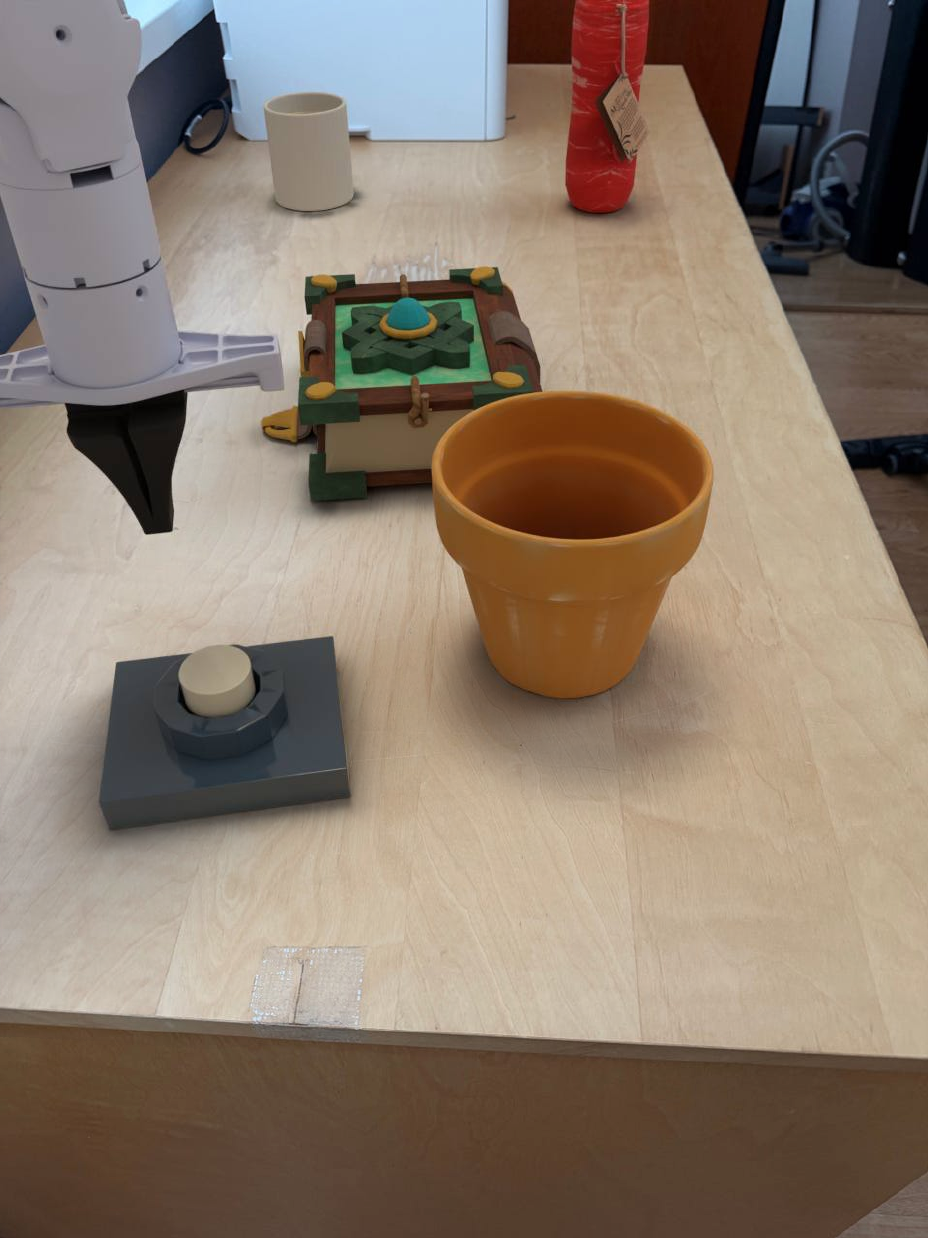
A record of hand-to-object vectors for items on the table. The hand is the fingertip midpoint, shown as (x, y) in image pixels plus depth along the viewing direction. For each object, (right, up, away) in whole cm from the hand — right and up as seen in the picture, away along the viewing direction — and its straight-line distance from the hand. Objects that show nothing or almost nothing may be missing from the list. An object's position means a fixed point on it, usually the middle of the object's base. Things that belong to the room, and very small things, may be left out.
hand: (159, 522), depth 53 cm
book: (+10, +12, +30) cm, 33 cm away
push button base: (+3, -11, +3) cm, 12 cm away
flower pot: (+21, -7, +8) cm, 24 cm away
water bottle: (+31, +40, +61) cm, 79 cm away
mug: (-1, +43, +66) cm, 79 cm away
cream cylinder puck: (+3, -9, 0) cm, 9 cm away
